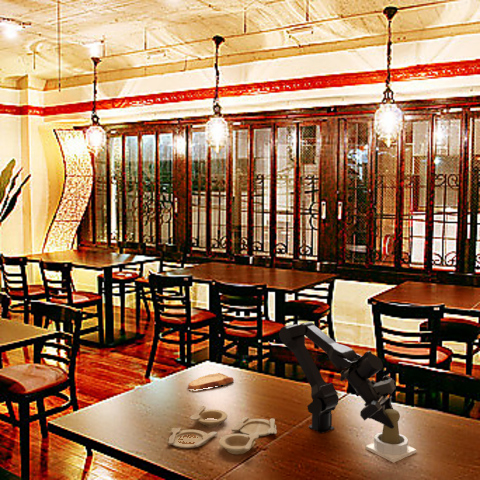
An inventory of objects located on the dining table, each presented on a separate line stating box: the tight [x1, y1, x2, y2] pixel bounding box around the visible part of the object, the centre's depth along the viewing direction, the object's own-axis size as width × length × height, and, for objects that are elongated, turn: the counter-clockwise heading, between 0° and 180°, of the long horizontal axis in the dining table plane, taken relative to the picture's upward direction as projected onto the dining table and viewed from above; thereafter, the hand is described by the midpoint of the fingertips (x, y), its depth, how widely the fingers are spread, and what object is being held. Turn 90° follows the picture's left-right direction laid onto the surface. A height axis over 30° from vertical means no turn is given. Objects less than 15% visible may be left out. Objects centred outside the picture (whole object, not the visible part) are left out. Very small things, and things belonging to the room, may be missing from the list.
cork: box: [381, 408, 401, 444], centre depth 176 cm, size 6×6×11 cm
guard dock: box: [365, 431, 417, 464], centre depth 177 cm, size 11×11×4 cm
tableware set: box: [167, 405, 278, 455], centre depth 189 cm, size 35×29×4 cm
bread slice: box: [187, 372, 235, 390], centre depth 237 cm, size 18×18×4 cm
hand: (395, 424), depth 175 cm, fingers closed on cork, 5 cm apart
